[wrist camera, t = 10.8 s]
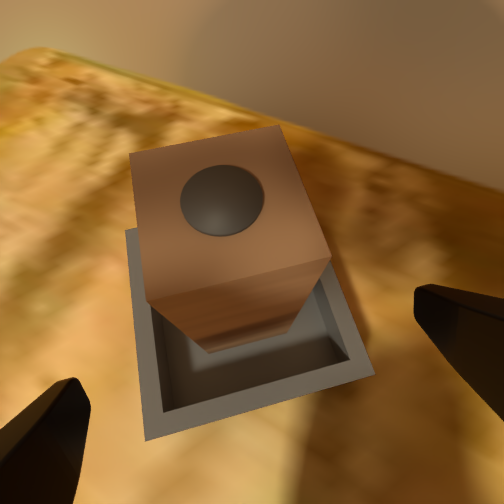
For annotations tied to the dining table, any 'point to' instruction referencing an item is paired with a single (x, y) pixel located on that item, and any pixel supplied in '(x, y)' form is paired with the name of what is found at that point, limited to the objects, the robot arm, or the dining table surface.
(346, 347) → the tray
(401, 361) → the dining table surface
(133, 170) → the block
